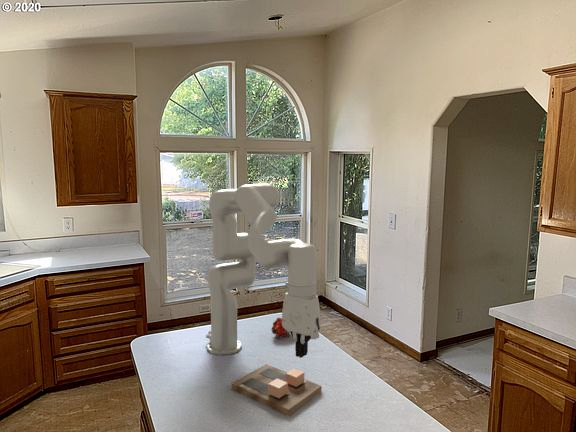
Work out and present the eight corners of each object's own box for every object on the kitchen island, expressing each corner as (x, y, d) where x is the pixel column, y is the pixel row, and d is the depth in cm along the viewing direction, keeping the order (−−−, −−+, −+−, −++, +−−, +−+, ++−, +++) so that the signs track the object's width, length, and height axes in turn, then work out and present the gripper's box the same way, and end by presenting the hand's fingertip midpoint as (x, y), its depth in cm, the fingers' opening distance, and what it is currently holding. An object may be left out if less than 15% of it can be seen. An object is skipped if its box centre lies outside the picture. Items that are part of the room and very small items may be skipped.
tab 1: (268, 393, 124) (268, 383, 124) (277, 387, 127) (277, 378, 127) (279, 398, 122) (279, 388, 121) (287, 392, 125) (287, 382, 124)
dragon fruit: (294, 335, 176) (275, 349, 167) (280, 320, 179) (261, 332, 170) (303, 322, 171) (284, 336, 162) (288, 307, 174) (269, 319, 165)
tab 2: (285, 382, 130) (285, 373, 130) (293, 377, 133) (293, 368, 133) (296, 386, 128) (296, 377, 127) (304, 381, 131) (304, 372, 131)
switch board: (231, 389, 131) (231, 383, 131) (266, 369, 143) (266, 363, 143) (288, 416, 117) (288, 409, 117) (321, 392, 130) (321, 385, 130)
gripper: (271, 287, 117) (271, 352, 119) (317, 298, 108) (316, 368, 110) (288, 282, 123) (288, 343, 125) (333, 291, 114) (332, 358, 116)
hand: (301, 355), depth 118 cm, fingers closed
